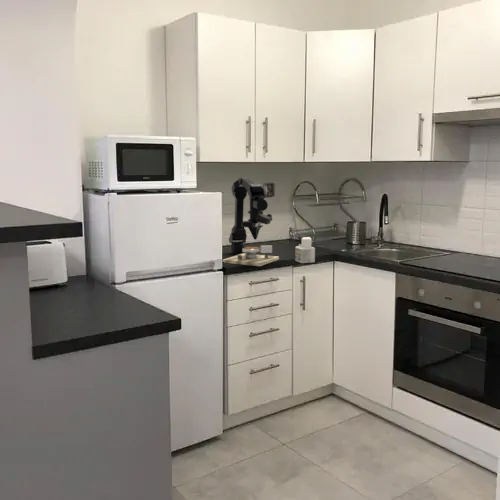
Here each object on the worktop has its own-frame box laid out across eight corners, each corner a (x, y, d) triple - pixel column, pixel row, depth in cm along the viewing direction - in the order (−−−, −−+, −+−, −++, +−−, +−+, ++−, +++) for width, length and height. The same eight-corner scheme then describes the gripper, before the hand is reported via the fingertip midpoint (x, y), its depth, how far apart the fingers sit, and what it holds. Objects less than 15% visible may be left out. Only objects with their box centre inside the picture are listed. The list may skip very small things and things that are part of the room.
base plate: (222, 262, 287) (222, 253, 286) (243, 256, 306) (243, 247, 305) (259, 266, 277) (259, 256, 276) (279, 259, 296) (279, 250, 295)
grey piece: (242, 253, 286) (242, 247, 286) (242, 251, 295) (242, 244, 295) (272, 253, 286) (272, 247, 285) (271, 251, 295) (271, 244, 294)
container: (295, 260, 291) (295, 236, 289) (308, 259, 294) (308, 235, 291) (301, 263, 284) (301, 238, 282) (315, 262, 286) (315, 237, 284)
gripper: (260, 211, 270) (260, 243, 273) (277, 208, 287) (277, 238, 289) (241, 210, 276) (241, 241, 278) (258, 207, 292) (258, 236, 294)
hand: (255, 239), depth 285 cm, fingers closed
